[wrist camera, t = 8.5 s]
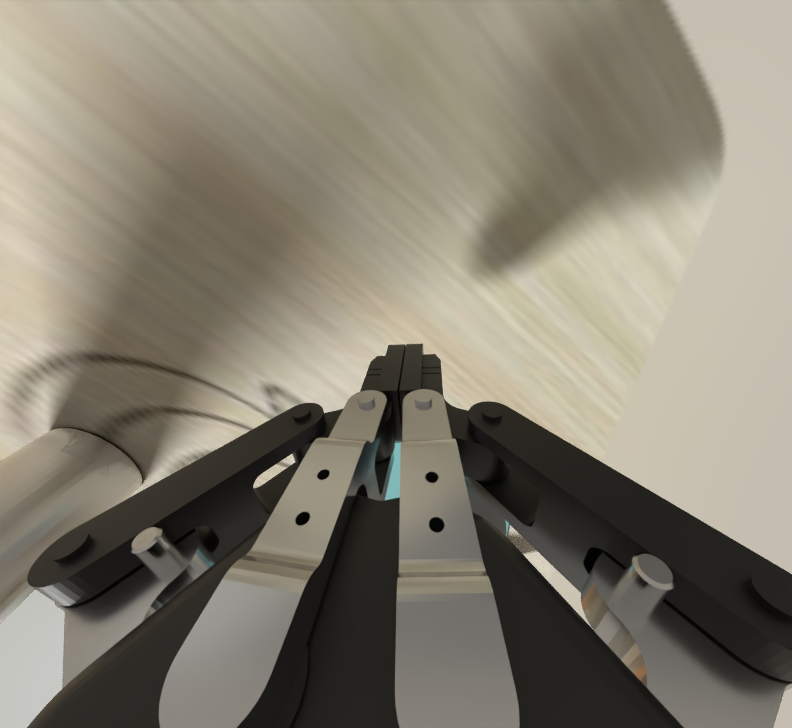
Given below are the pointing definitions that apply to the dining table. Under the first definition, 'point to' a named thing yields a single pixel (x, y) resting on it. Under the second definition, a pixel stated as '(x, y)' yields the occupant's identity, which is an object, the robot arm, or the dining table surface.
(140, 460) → the dining table surface
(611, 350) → the dining table surface
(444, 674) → the robot arm
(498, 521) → the charcoal ball
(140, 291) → the dining table surface
